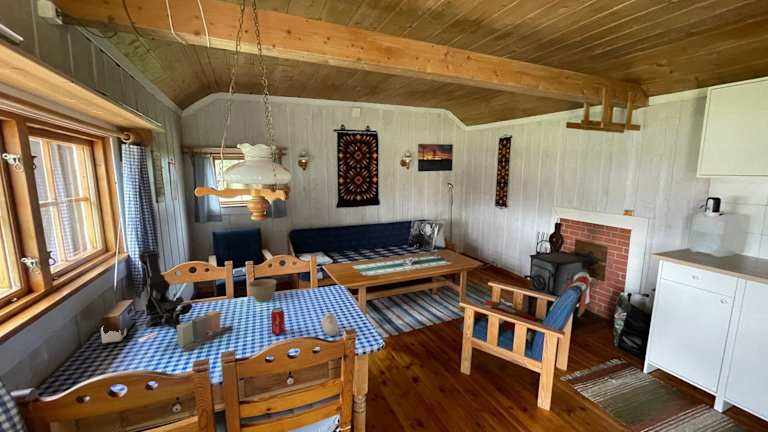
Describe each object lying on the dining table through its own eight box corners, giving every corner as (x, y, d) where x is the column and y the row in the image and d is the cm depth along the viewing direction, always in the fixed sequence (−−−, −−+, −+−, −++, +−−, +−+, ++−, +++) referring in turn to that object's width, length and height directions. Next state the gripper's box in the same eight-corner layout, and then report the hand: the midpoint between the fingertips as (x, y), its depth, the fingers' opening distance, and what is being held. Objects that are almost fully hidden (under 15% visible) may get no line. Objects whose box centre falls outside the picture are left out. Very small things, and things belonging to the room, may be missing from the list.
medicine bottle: (126, 333, 155) (124, 310, 153) (120, 341, 148) (118, 316, 147) (108, 336, 152) (106, 312, 151) (101, 343, 145) (99, 318, 144)
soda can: (282, 328, 162) (281, 306, 160) (286, 333, 157) (286, 310, 155) (269, 332, 158) (269, 309, 156) (274, 337, 153) (273, 313, 151)
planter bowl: (282, 297, 203) (281, 281, 202) (262, 306, 189) (261, 288, 188) (264, 292, 211) (263, 277, 209) (243, 301, 197) (243, 284, 195)
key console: (168, 347, 143) (168, 341, 142) (215, 326, 163) (214, 320, 163) (186, 354, 137) (186, 348, 137) (232, 331, 158) (231, 325, 158)
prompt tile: (137, 340, 148) (137, 339, 148) (153, 334, 154) (153, 332, 154) (152, 347, 143) (152, 345, 143) (168, 339, 149) (168, 338, 149)
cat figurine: (335, 320, 151) (328, 305, 164) (320, 330, 149) (314, 314, 162) (344, 333, 154) (337, 317, 168) (330, 344, 153) (324, 327, 166)
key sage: (177, 344, 143) (176, 325, 142) (187, 340, 147) (186, 321, 146) (183, 346, 142) (182, 327, 140) (193, 342, 146) (192, 323, 144)
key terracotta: (206, 331, 156) (205, 313, 155) (214, 327, 160) (214, 310, 159) (212, 333, 154) (211, 315, 153) (220, 329, 158) (219, 311, 157)
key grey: (192, 337, 149) (191, 319, 148) (201, 333, 154) (200, 315, 152) (198, 339, 148) (197, 321, 147) (207, 335, 152) (206, 317, 151)
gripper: (147, 299, 137) (164, 329, 134) (189, 286, 154) (205, 312, 150) (138, 313, 141) (154, 342, 138) (180, 299, 158) (196, 325, 155)
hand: (179, 329), depth 145 cm, fingers closed
